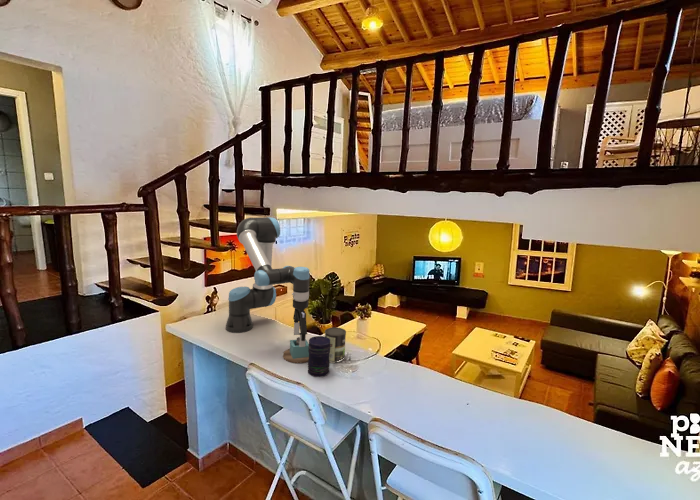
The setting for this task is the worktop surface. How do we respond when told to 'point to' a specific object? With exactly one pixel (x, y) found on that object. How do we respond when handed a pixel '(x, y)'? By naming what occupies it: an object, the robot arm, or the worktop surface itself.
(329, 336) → the coffee can
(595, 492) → the worktop surface
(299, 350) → the collar
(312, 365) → the storage jar
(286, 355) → the post stand
